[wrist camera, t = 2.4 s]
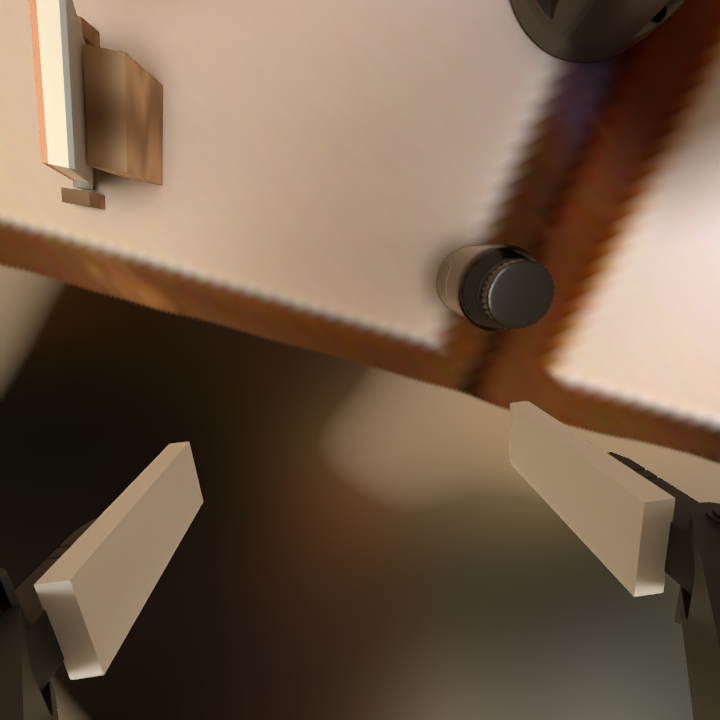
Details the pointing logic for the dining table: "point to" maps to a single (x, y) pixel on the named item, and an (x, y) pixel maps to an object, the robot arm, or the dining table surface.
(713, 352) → the dining table surface
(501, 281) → the supplement bottle
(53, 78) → the panel
